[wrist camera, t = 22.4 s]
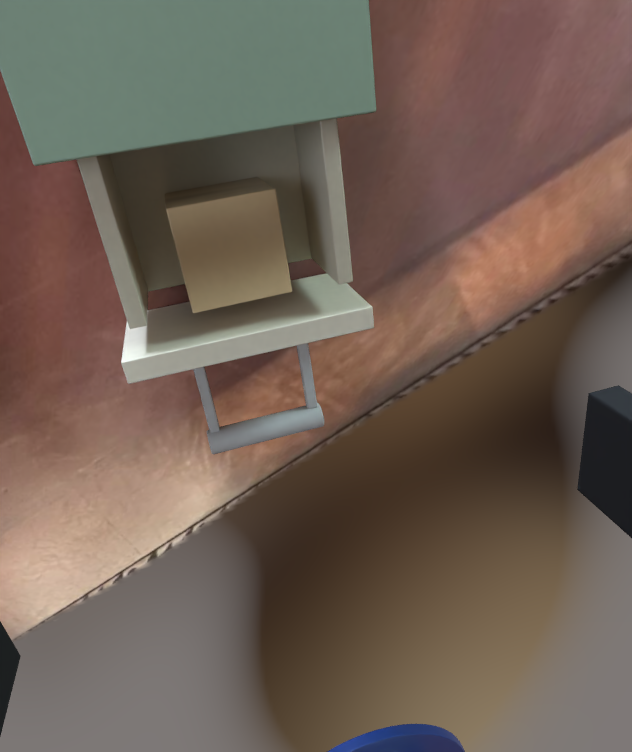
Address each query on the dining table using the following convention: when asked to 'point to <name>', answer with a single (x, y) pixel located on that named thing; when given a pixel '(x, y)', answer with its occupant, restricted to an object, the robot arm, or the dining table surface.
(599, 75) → the dining table surface
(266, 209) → the block
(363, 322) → the drawer
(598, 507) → the robot arm
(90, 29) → the cabinet
